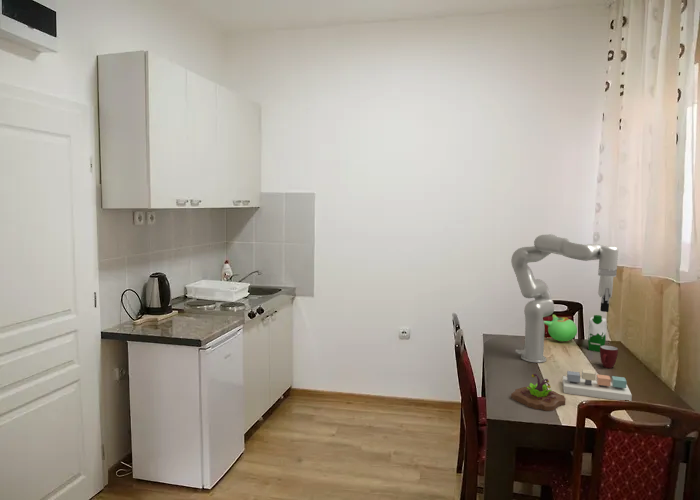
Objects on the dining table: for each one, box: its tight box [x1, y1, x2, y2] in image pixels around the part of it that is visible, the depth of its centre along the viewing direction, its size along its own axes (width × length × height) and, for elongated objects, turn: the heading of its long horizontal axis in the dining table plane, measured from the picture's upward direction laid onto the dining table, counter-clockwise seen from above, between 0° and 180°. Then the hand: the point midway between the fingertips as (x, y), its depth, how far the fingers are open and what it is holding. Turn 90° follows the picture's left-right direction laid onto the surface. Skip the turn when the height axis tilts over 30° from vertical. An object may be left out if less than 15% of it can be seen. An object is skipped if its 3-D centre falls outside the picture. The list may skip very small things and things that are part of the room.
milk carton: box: [587, 314, 608, 353], centre depth 281 cm, size 9×9×20 cm
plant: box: [510, 373, 566, 412], centre depth 209 cm, size 20×20×11 cm
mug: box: [599, 345, 619, 369], centre depth 251 cm, size 10×8×10 cm
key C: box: [595, 373, 612, 388], centre depth 218 cm, size 5×5×6 cm
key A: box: [566, 370, 581, 384], centre depth 222 cm, size 5×5×6 cm
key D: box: [611, 375, 628, 389], centre depth 216 cm, size 5×5×6 cm
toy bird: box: [543, 313, 578, 342], centre depth 299 cm, size 18×17×15 cm
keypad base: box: [562, 375, 633, 402], centre depth 219 cm, size 26×14×3 cm, turn 69°
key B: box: [581, 368, 597, 385], centre depth 220 cm, size 5×5×6 cm
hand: (604, 311), depth 233 cm, fingers closed
